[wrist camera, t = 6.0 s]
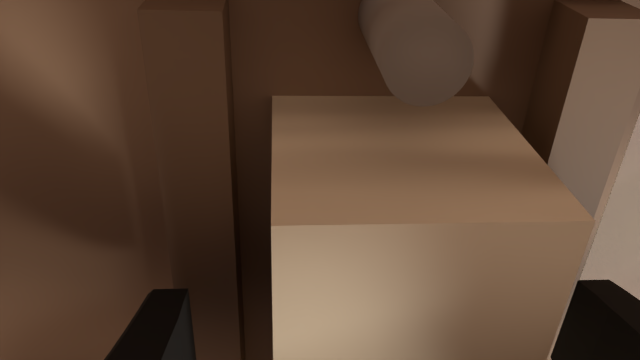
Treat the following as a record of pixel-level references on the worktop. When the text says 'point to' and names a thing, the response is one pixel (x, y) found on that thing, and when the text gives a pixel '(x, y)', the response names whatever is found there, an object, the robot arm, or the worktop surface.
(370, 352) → the birch bar
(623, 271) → the worktop surface
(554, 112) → the cradle
